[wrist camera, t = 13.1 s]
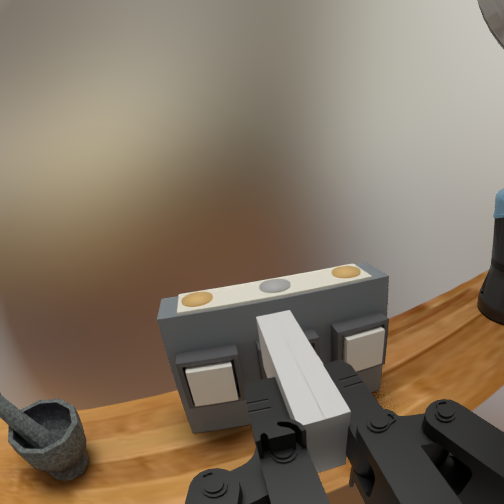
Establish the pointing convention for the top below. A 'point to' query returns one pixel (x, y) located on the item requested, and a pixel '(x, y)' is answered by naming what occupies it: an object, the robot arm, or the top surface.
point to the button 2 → (363, 348)
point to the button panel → (247, 337)
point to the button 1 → (212, 383)
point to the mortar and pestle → (47, 436)
